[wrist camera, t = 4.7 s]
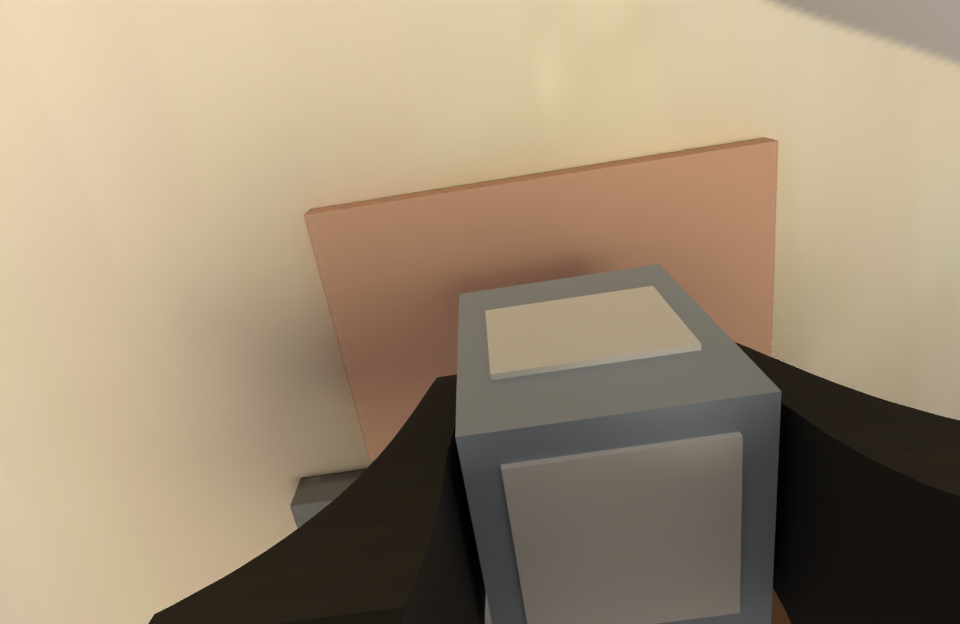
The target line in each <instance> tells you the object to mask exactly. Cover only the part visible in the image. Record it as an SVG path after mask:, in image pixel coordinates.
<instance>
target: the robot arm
mask: <svg viewBox="0 0 960 624" xmlns="http://www.w3.org/2000/svg"><path fill="white" fill-rule="evenodd" d="M735 343H736V342H735ZM736 344H737V345H738V346H739V347H740V349H741V350H742V351H743V352H744V353H745V354H746V355H747V356H748V357H749V358H750V359H751V360H752V361H753V362H754V363H755V364H756V365H757V366H758V367H759V368H760V369H761V370H762V371H763V372H764V374H765V375H766V376H767V377H768V378H769V379H770V380H771V381H772V382H773V383H774V384H775V385H776V386H777V387H778V388H779V389H780V390H781V391H782V392H781V414H780V436H779V459H778V481H777V503H776V525H775V548H774V570H773V589H774V591H775V593H776V594H777V596H778V598H779V600H780V602H781V603H782V605H783V607H784V609H785V611H786V613H787V616H788V618H789V620H790V622H791V624H960V421H959V420H955V419H951V418H947V417H943V416H939V415H935V414H931V413H928V412H924V411H921V410H917V409H914V408H910V407H907V406H903V405H899V404H896V403H892V402H889V401H886V400H883V399H880V398H877V397H874V396H870V395H868V394H865V393H862V392H859V391H856V390H854V389H851V388H848V387H845V386H842V385H839V384H837V383H834V382H831V381H829V380H826V379H824V378H821V377H818V376H816V375H813V374H811V373H808V372H806V371H803V370H801V369H798V368H796V367H794V366H791V365H789V364H786V363H784V362H782V361H779V360H777V359H775V358H772V357H770V356H768V355H765V354H763V353H761V352H758V351H756V350H754V349H751V348H749V347H746V346H744V345H741V344H739V343H736ZM456 393H457V374H456V375H449V376H442V377H437V378H436V379H435V381H434V382H433V383H432V385H431V386H430V387H429V389H428V390H427V392H426V393H425V395H424V396H423V398H422V399H421V401H420V402H419V404H418V405H417V407H416V408H415V410H414V411H413V413H412V414H411V415H410V417H409V418H408V419H407V421H406V422H405V423H404V425H403V426H402V428H401V429H400V430H399V432H398V433H397V434H396V436H395V437H394V438H393V439H392V441H391V442H390V443H389V444H388V445H387V447H386V448H385V449H384V450H383V451H382V452H381V454H380V455H379V456H378V457H377V458H376V460H375V461H374V462H373V463H372V464H371V465H370V466H369V467H368V468H367V469H366V470H365V471H364V472H363V473H362V474H361V475H360V476H359V477H358V478H357V479H356V480H355V481H354V482H353V483H352V484H351V485H350V486H349V487H348V488H347V489H346V490H344V491H343V492H342V493H341V494H340V495H339V496H338V497H337V498H336V499H335V500H333V501H332V502H331V503H330V504H328V505H327V506H326V507H325V508H323V509H322V510H321V511H320V512H318V513H317V514H316V515H315V516H313V517H312V518H311V519H309V520H308V521H307V522H306V523H304V524H303V525H302V526H301V527H299V528H298V529H297V530H296V531H294V532H293V533H292V534H290V535H289V536H287V537H286V538H284V539H283V540H282V541H280V542H279V543H277V544H276V545H274V546H273V547H271V548H270V549H268V550H267V551H265V552H264V553H262V554H261V555H259V556H258V557H256V558H254V559H253V560H251V561H250V562H248V563H247V564H245V565H243V566H242V567H240V568H239V569H237V570H235V571H234V572H232V573H230V574H229V575H227V576H225V577H224V578H222V579H220V580H218V581H216V582H214V583H213V584H211V585H209V586H207V587H205V588H203V589H202V590H200V591H198V592H196V593H194V594H192V595H190V596H189V597H187V598H185V599H183V600H181V601H179V602H178V603H176V604H174V605H172V606H170V607H168V608H166V609H164V610H162V611H160V612H158V613H156V614H154V616H153V617H152V619H151V620H150V622H149V624H485V602H486V590H485V585H484V580H483V575H482V570H481V565H480V560H479V555H478V550H477V545H476V539H475V534H474V529H473V524H472V519H471V514H470V509H469V504H468V499H467V494H466V489H465V484H464V479H463V474H462V469H461V464H460V459H459V454H458V449H457V443H456V438H455V429H456Z"/></svg>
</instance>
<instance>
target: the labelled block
mask: <svg viewBox="0 0 960 624" xmlns="http://www.w3.org/2000/svg"><path fill="white" fill-rule="evenodd" d="M781 392H782V391H781V390H780V389H779V388H778V387H777V386H776V385H775V384H774V383H773V382H772V381H771V380H770V379H769V378H768V377H767V376H766V375H765V374H764V372H763V371H762V370H761V369H760V368H759V367H758V366H757V365H756V364H755V363H754V362H753V361H752V360H751V359H750V358H749V357H748V356H747V355H746V354H745V353H744V352H743V351H742V350H741V349H740V347H739V346H738V345H737V344H736V343H735V342H734V341H733V340H732V339H731V338H730V337H729V336H728V335H727V334H726V333H725V332H724V331H723V330H722V329H721V328H720V327H719V326H718V325H717V323H716V322H715V321H714V320H713V319H712V318H711V317H710V316H709V315H708V314H707V313H706V312H705V311H704V310H703V309H702V308H701V307H700V306H699V305H698V304H697V303H696V302H695V301H694V300H693V298H692V297H691V296H690V295H689V294H688V293H687V292H686V291H685V290H684V289H683V288H682V287H681V286H680V285H679V284H678V283H677V282H676V281H675V280H674V279H673V278H672V277H671V276H670V274H669V273H668V272H667V271H666V270H665V269H664V268H663V267H662V266H661V265H660V264H657V265H650V266H644V267H637V268H630V269H624V270H617V271H610V272H604V273H597V274H590V275H583V276H577V277H570V278H563V279H557V280H550V281H543V282H537V283H530V284H523V285H517V286H510V287H503V288H497V289H490V290H483V291H477V292H470V293H463V294H459V322H458V358H457V393H456V429H455V438H456V443H457V449H458V454H459V459H460V464H461V469H462V474H463V479H464V484H465V489H466V494H467V499H468V504H469V509H470V514H471V519H472V524H473V529H474V534H475V539H476V545H477V550H478V555H479V560H480V565H481V570H482V575H483V580H484V585H485V590H486V595H487V600H488V605H489V610H490V615H491V620H492V624H771V614H772V592H773V570H774V548H775V525H776V503H777V481H778V459H779V436H780V414H781Z"/></svg>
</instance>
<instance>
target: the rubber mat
mask: <svg viewBox="0 0 960 624" xmlns="http://www.w3.org/2000/svg"><path fill="white" fill-rule="evenodd" d="M777 162H778V141H777V140H773V139H769V138H761V139H755V140H748V141H742V142H736V143H729V144H723V145H717V146H710V147H704V148H697V149H691V150H685V151H678V152H672V153H666V154H659V155H653V156H647V157H640V158H634V159H628V160H621V161H615V162H608V163H602V164H596V165H589V166H583V167H577V168H570V169H564V170H558V171H551V172H545V173H539V174H532V175H526V176H519V177H513V178H507V179H500V180H494V181H488V182H481V183H475V184H469V185H462V186H456V187H450V188H443V189H437V190H430V191H424V192H418V193H411V194H405V195H399V196H392V197H386V198H380V199H373V200H367V201H361V202H354V203H348V204H341V205H335V206H329V207H322V208H316V209H310V210H309V211H308V212H307V213H306V214H305V215H304V216H305V219H306V223H307V227H308V231H309V234H310V238H311V242H312V245H313V249H314V253H315V257H316V260H317V264H318V268H319V272H320V275H321V279H322V283H323V287H324V290H325V294H326V298H327V301H328V305H329V309H330V313H331V316H332V320H333V324H334V328H335V331H336V335H337V339H338V343H339V346H340V350H341V354H342V357H343V361H344V365H345V369H346V372H347V376H348V380H349V384H350V387H351V391H352V395H353V399H354V402H355V406H356V410H357V413H358V417H359V421H360V425H361V428H362V432H363V436H364V440H365V443H366V447H367V451H368V455H369V458H370V460H376V458H377V457H378V456H379V455H380V454H381V452H382V451H383V450H384V449H385V448H386V447H387V445H388V444H389V443H390V442H391V441H392V439H393V438H394V437H395V436H396V434H397V433H398V432H399V430H400V429H401V428H402V426H403V425H404V423H405V422H406V421H407V419H408V418H409V417H410V415H411V414H412V413H413V411H414V410H415V408H416V407H417V405H418V404H419V402H420V401H421V399H422V398H423V396H424V395H425V393H426V392H427V390H428V389H429V387H430V386H431V385H432V383H433V382H434V381H435V379H436V378H437V377H442V376H449V375H456V374H457V358H458V322H459V294H463V293H470V292H477V291H483V290H490V289H497V288H503V287H510V286H517V285H523V284H530V283H537V282H543V281H550V280H557V279H563V278H570V277H577V276H583V275H590V274H597V273H604V272H610V271H617V270H624V269H630V268H637V267H644V266H650V265H657V264H660V265H661V266H662V267H663V268H664V269H665V270H666V271H667V272H668V273H669V274H670V276H671V277H672V278H673V279H674V280H675V281H676V282H677V283H678V284H679V285H680V286H681V287H682V288H683V289H684V290H685V291H686V292H687V293H688V294H689V295H690V296H691V297H692V298H693V300H694V301H695V302H696V303H697V304H698V305H699V306H700V307H701V308H702V309H703V310H704V311H705V312H706V313H707V314H708V315H709V316H710V317H711V318H712V319H713V320H714V321H715V322H716V323H717V325H718V326H719V327H720V328H721V329H722V330H723V331H724V332H725V333H726V334H727V335H728V336H729V337H730V338H731V339H732V340H733V341H734V342H736V343H739V344H741V345H744V346H746V347H749V348H751V349H754V350H756V351H758V352H761V353H763V354H765V355H768V356H770V357H771V337H772V308H773V279H774V249H775V220H776V191H777Z"/></svg>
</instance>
